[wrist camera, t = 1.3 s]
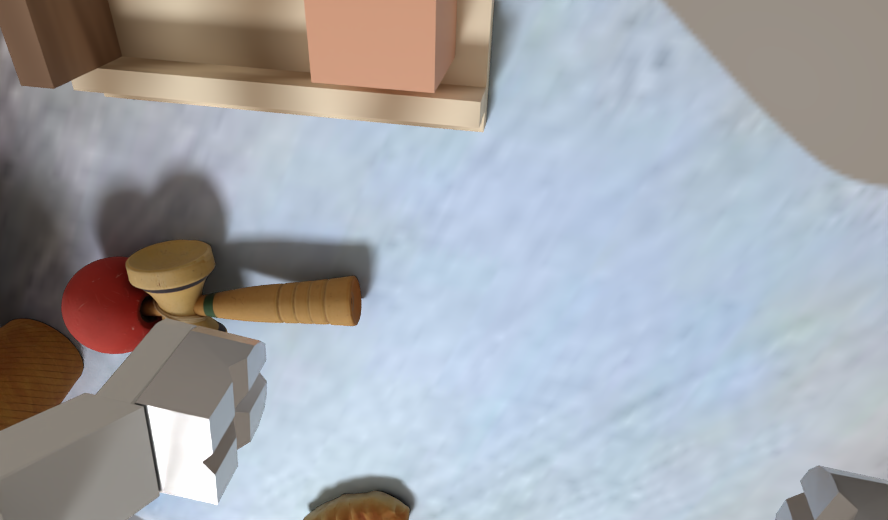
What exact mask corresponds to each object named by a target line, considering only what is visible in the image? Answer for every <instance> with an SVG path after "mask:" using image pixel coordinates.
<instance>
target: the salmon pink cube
mask: <svg viewBox="0 0 888 520" xmlns="http://www.w3.org/2000/svg"><path fill="white" fill-rule="evenodd" d="M304 7H305V18H306V28H307V39H308V50H309V61H310V72H311V82H313V83H324V84H336V85H347V86H359V87H370V88H382V89H393V90H405V91H416V92H427V93H435V91H436V89H437V88H438V86H439V84H440V82H441V81H442V79H443V77H444V75H445V74H446V72H447V70H448V69H449V67H450V65H451V63H452V62H453V60H454V58H455V48H456V21H457V0H304Z"/></svg>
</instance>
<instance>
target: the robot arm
mask: <svg viewBox="0 0 888 520" xmlns="http://www.w3.org/2000/svg"><path fill="white" fill-rule="evenodd" d="M265 362H266V348H265V344H264V343H263V342H261V341H259V340H255V339H251V338H247V337H243V336H239V335H235V334H231V333H227V332H223V331H219V330H215V329H211V328H207V327H203V326H196V325H192V324H188V323H184V322H180V321H176V320H172V319H168V318H166V319H164V320H162V321H160V322H158V323H157V324H155V326H154V327H153V328H152V329H151V330H150V331H149V333H148V334H147V335H146V336H145V337H144V338H143V340H142V341H141V342H140V343H139V344H138V345H137V347H136V348H135V349H134V350H133V351H132V353H131V354H130V355H129V356H128V357H127V358H126V360H125V361H124V362H123V363H122V364H121V365H120V367H119V368H118V369H117V370H116V371H115V372H114V374H113V375H112V376H111V377H110V378H109V379H108V381H107V382H106V383H105V384H104V385H103V386H102V388H101V389H100V390H99V391H98V392H97V394H96V395H93V394H88V393H84V394H82V395H79V396H77V397H75V398H73V399H70V400H68V401H66V402H64V403H61V404H59V405H57V406H55V407H52V408H50V409H48V410H46V411H44V412H41V413H39V414H37V415H35V416H32V417H30V418H28V419H26V420H23V421H21V422H19V423H17V424H14V425H12V426H10V427H8V428H6V429H3V430H1V431H0V520H127V519H128V518H129V517H131V516H133V515H134V514H135V513H137V512H138V511H140V510H141V509H142V508H144V507H145V506H146V505H148V504H149V503H151V502H152V501H153V500H155V499H156V498H158V497H159V496H160V494H159V492H161V493H165V494H170V495H175V496H180V497H185V498H189V499H194V500H199V501H204V502H209V503H213V504H218V502H219V501H220V499H221V497H222V495H223V493H224V491H225V489H226V487H227V486H228V484H229V482H230V480H231V478H232V476H233V474H234V472H235V470H236V469H237V467H238V459H237V449H239V448H241V447H242V446H244V445H246V444H247V443H249V442H251V440H252V438H253V436H254V434H255V432H256V430H257V428H258V426H259V423H260V420H261V417H262V414H263V411H264V408H265V401H266V395H267V381H266V380H265V379H264V377H263V376H262V375H261V374H260V371H261V369H262V367H263V365H264V363H265ZM800 482H801V485H802V488H803V491H804V493H801V494H799V495H796V496H793V497H791V498H788V499H786V500H785V502H784V503H783V505H782V506H781V508H780V509H779V510H778V512H777V513H776V518H775V520H888V481H887V480H884V479H880V478H875V477H870V476H866V475H861V474H856V473H851V472H847V471H842V470H837V469H833V468H828V467H823V466H817V467H814V468H812V469H810V470H808V472H807V473H806V474H805V475H804V477H803V478H802V479H801V480H800Z"/></svg>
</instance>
